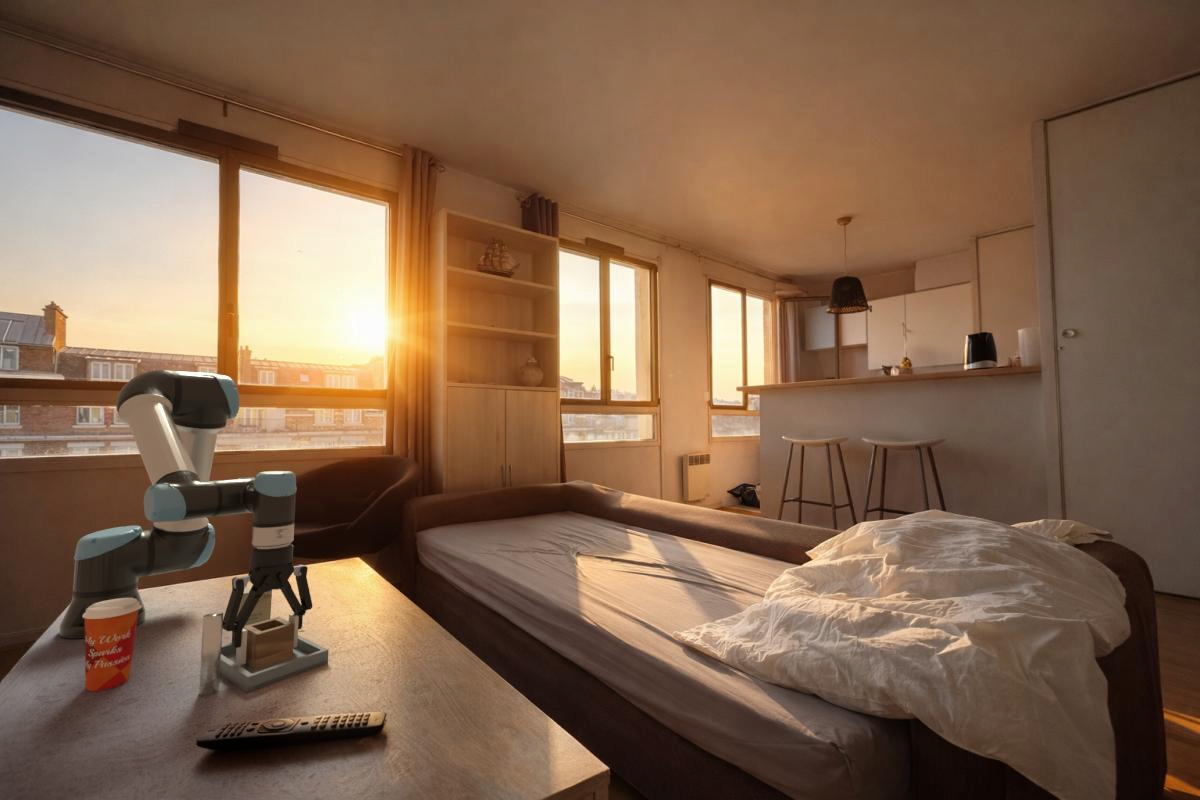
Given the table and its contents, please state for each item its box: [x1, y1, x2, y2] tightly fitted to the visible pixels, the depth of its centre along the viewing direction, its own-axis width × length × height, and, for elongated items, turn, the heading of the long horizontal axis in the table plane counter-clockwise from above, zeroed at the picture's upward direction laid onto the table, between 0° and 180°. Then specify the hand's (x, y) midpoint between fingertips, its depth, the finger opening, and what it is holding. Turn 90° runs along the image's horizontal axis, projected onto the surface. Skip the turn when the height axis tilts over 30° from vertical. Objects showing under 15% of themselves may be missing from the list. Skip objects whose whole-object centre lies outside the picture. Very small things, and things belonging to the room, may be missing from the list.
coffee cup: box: [82, 598, 142, 692], centre depth 99 cm, size 8×8×15 cm
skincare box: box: [237, 587, 273, 626], centre depth 118 cm, size 6×4×12 cm
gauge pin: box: [198, 611, 224, 697], centre depth 97 cm, size 3×3×14 cm
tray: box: [220, 634, 329, 694], centre depth 108 cm, size 20×15×3 cm
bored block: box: [244, 616, 294, 670], centre depth 108 cm, size 7×7×7 cm
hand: (267, 653), depth 108 cm, fingers open, 9 cm apart
